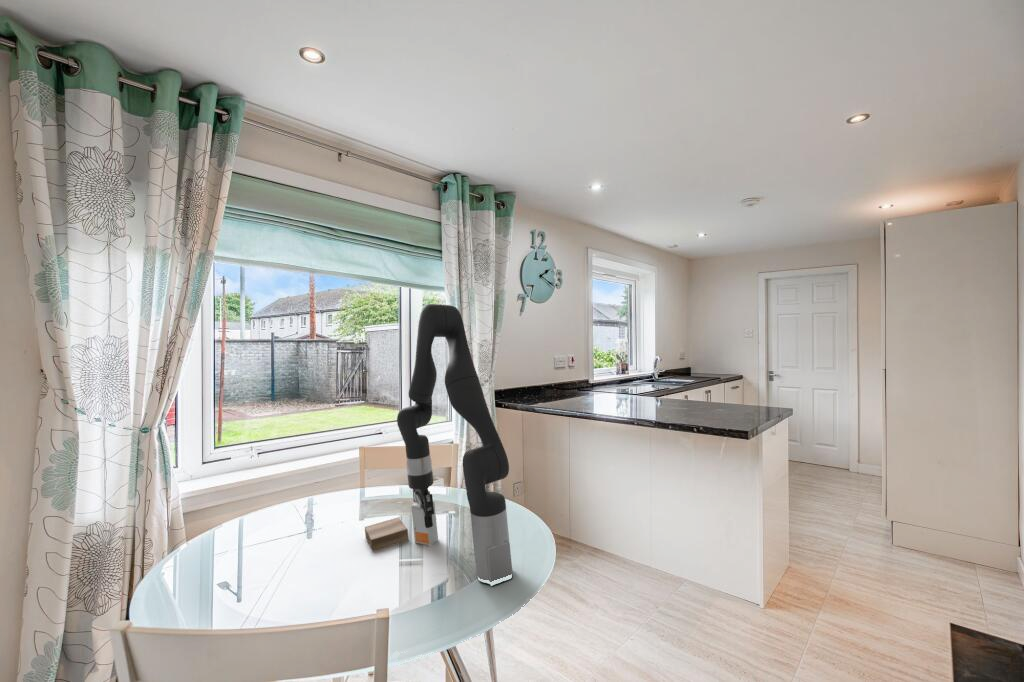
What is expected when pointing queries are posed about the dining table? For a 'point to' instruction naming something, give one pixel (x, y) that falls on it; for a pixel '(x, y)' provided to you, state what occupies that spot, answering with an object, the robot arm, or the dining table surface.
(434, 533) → the skincare box
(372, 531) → the walnut block
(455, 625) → the dining table surface
